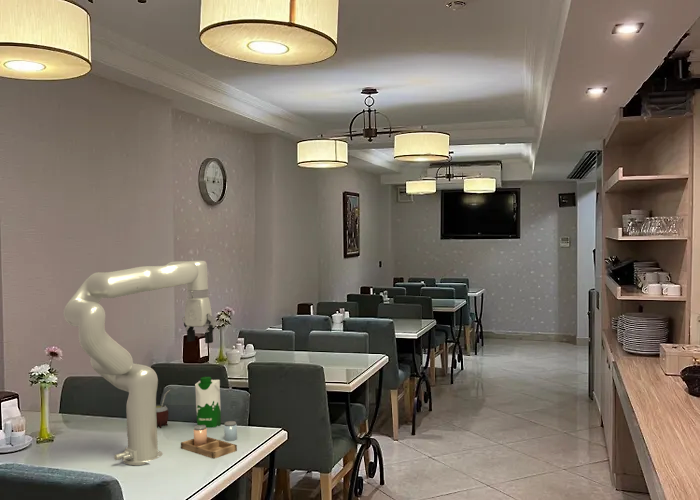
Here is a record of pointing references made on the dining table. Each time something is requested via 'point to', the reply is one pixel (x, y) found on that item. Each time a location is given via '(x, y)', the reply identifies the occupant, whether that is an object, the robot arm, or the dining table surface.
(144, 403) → the robot arm
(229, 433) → the salt shaker
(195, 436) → the pepper shaker
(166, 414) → the mate gourd
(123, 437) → the dining table surface
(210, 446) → the caddy
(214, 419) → the milk carton
